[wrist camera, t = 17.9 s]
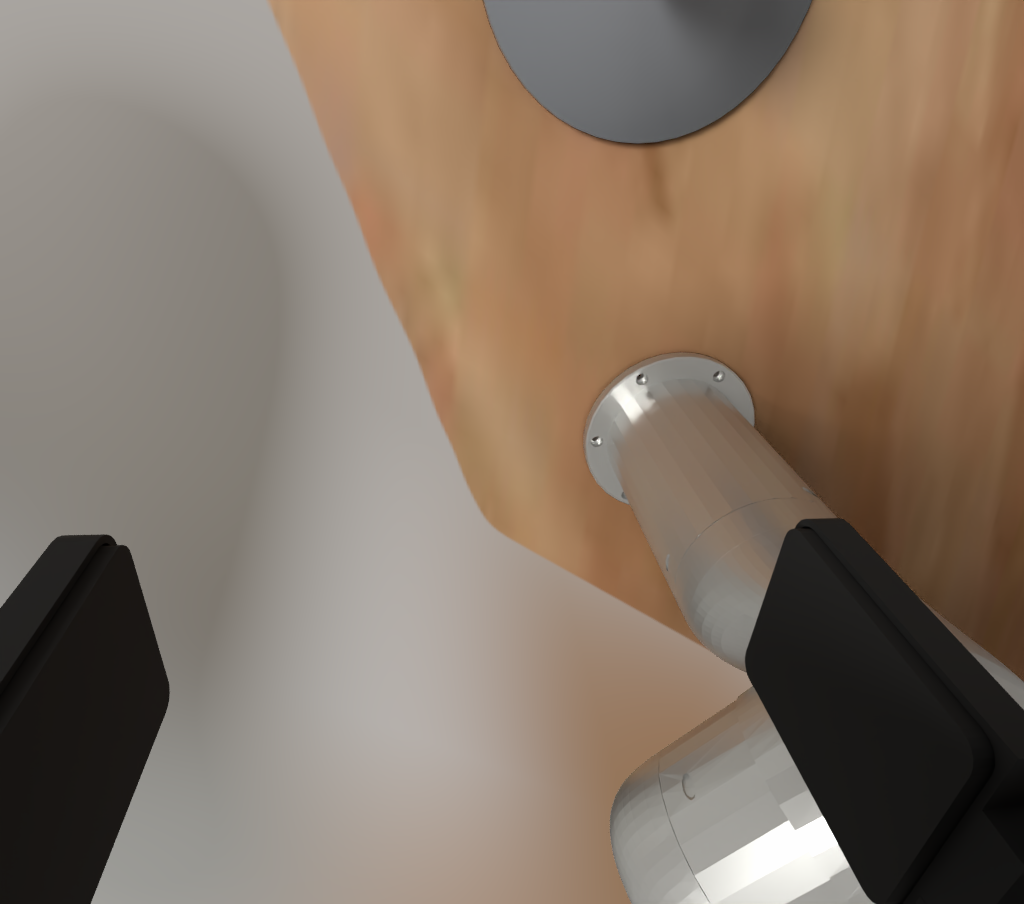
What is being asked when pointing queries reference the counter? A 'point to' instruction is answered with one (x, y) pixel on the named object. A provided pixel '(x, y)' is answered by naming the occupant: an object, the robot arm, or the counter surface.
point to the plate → (642, 59)
